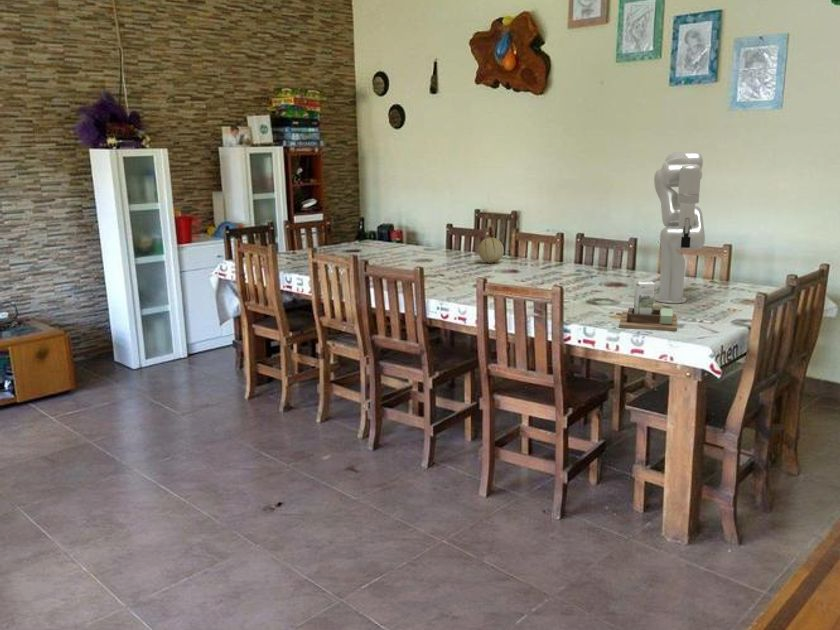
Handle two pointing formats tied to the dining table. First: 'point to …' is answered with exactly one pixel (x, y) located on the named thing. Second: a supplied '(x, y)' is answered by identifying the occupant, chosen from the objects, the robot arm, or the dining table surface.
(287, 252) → the dining table surface
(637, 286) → the syrup box
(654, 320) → the socket board
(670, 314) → the bar
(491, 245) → the cantaloupe
